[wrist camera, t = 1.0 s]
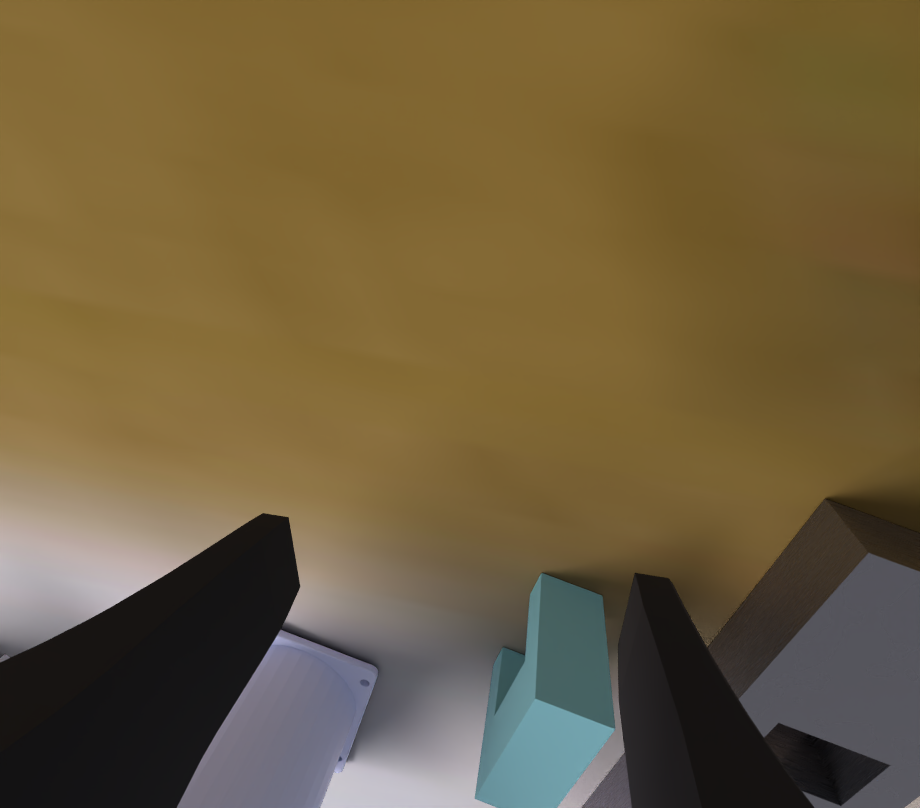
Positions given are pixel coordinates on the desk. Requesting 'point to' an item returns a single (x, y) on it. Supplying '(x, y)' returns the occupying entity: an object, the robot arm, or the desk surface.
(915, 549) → the grey board with slots
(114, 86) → the desk surface
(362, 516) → the desk surface
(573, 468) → the desk surface
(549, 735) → the upright aqua box
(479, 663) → the desk surface
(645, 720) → the robot arm
